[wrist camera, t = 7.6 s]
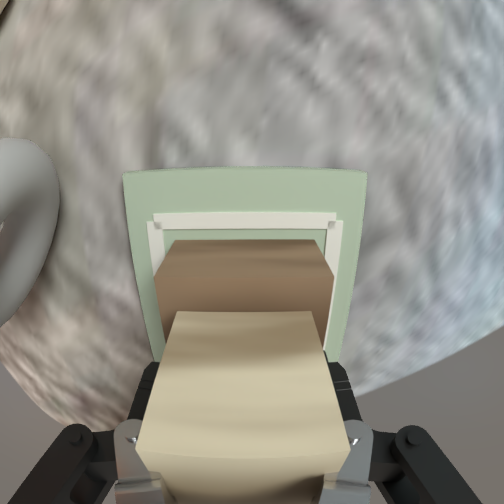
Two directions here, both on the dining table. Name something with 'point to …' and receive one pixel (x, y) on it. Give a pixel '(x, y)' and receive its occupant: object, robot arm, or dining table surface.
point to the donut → (24, 218)
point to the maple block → (243, 410)
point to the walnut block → (244, 279)
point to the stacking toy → (3, 4)
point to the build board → (246, 223)
